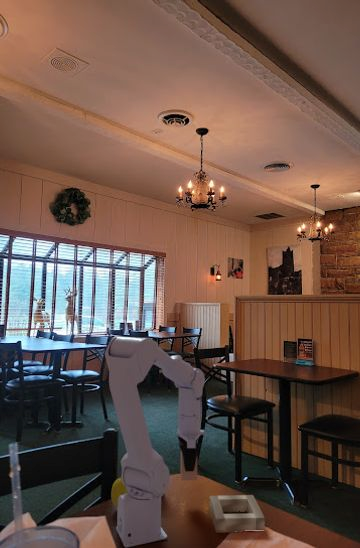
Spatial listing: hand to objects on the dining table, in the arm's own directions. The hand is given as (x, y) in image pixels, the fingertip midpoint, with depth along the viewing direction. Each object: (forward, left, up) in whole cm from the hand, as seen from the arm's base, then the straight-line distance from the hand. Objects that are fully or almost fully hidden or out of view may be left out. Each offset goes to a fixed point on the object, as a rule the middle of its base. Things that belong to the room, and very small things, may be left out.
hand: (188, 467), depth 107 cm
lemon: (-17, +2, -9) cm, 19 cm away
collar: (+7, -12, -9) cm, 16 cm away
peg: (0, 0, -2) cm, 2 cm away
